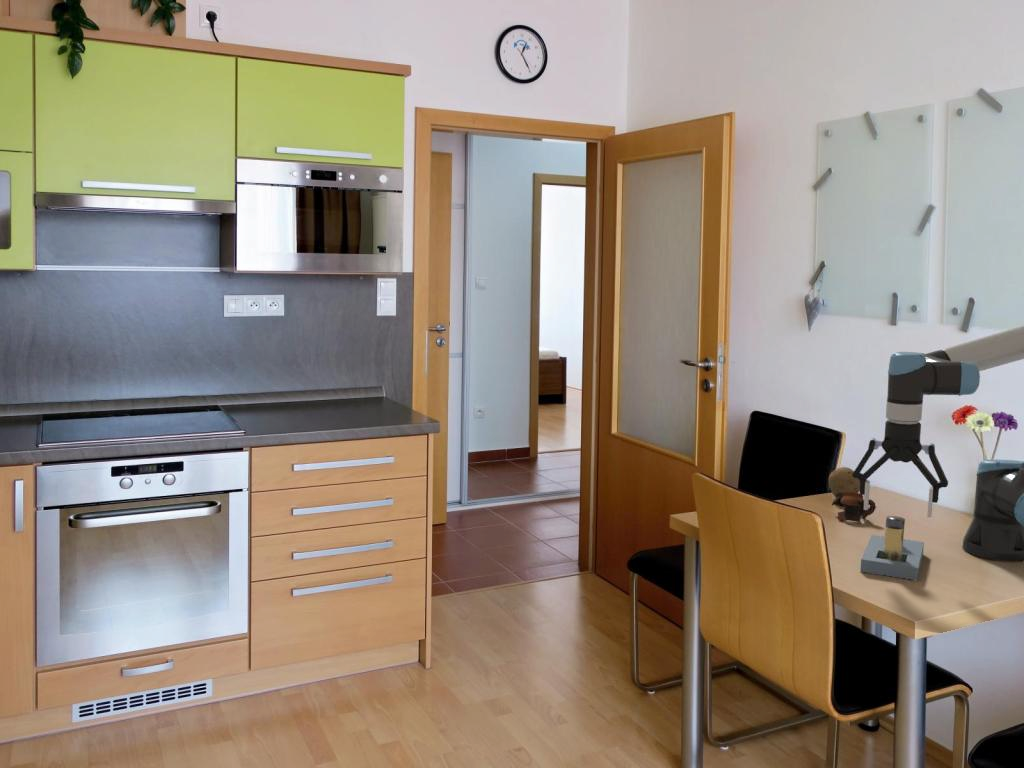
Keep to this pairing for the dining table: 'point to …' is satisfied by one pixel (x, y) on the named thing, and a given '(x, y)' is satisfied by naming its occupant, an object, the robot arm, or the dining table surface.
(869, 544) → the block
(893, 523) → the spice jar
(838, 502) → the pottery mug
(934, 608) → the dining table surface
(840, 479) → the natural sponge
